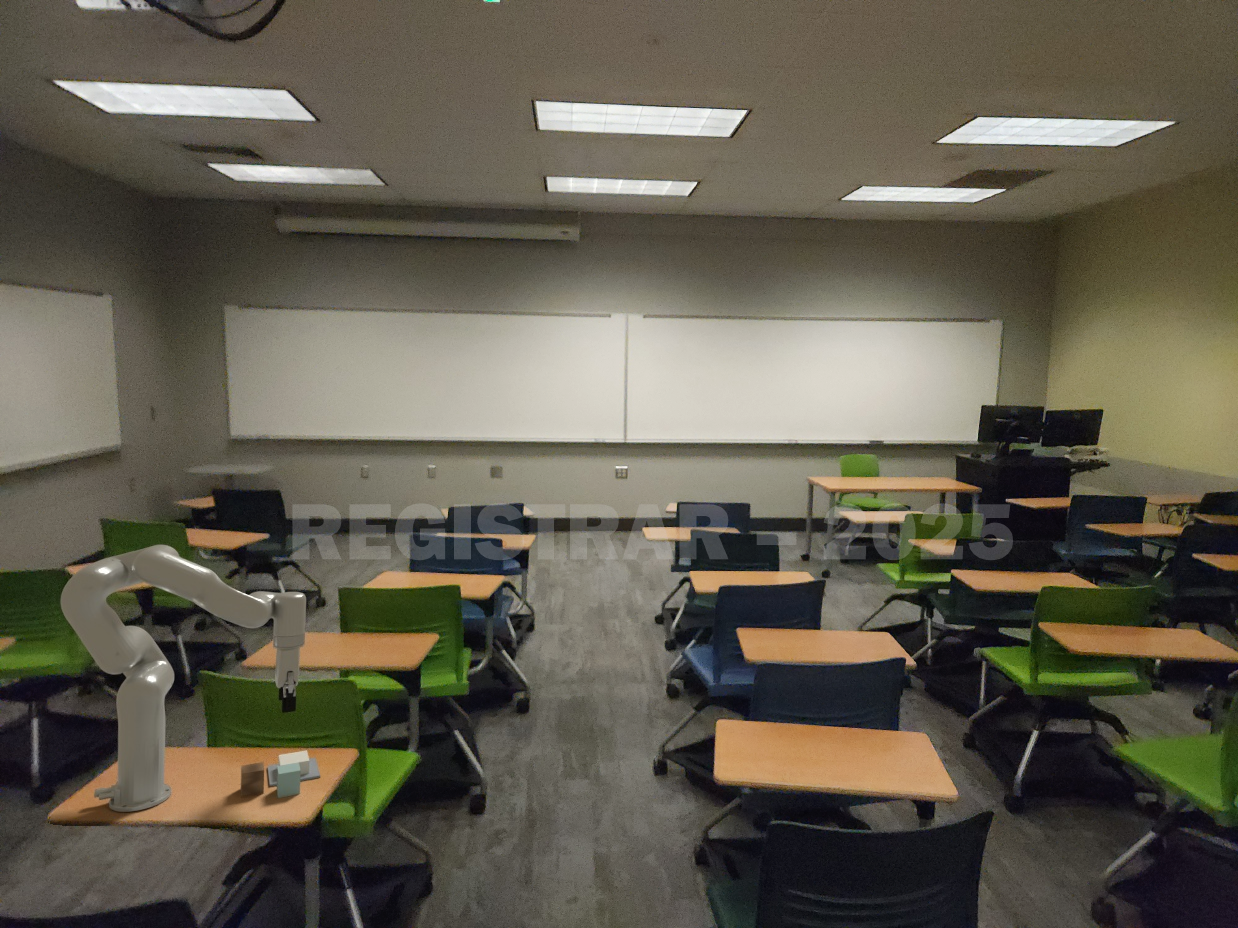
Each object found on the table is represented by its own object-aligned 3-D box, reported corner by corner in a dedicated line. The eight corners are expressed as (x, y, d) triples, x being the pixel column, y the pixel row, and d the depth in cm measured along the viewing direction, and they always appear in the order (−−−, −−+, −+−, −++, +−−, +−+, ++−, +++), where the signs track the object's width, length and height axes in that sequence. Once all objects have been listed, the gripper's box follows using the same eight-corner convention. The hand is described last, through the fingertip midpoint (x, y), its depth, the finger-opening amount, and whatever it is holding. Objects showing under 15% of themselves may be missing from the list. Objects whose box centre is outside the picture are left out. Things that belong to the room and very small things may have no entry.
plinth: (269, 786, 178) (270, 771, 178) (267, 767, 188) (267, 752, 188) (320, 777, 184) (320, 762, 184) (315, 759, 194) (315, 745, 194)
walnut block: (241, 797, 172) (241, 773, 172) (240, 788, 176) (241, 765, 176) (263, 793, 175) (264, 769, 174) (262, 784, 179) (263, 761, 179)
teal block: (277, 797, 173) (278, 773, 172) (276, 789, 177) (277, 765, 177) (299, 793, 175) (300, 770, 175) (298, 785, 179) (298, 762, 179)
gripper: (270, 633, 187) (268, 696, 187) (275, 650, 172) (273, 719, 172) (301, 631, 190) (299, 692, 191) (308, 647, 175) (306, 714, 176)
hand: (287, 705), depth 181 cm, fingers open, 9 cm apart
